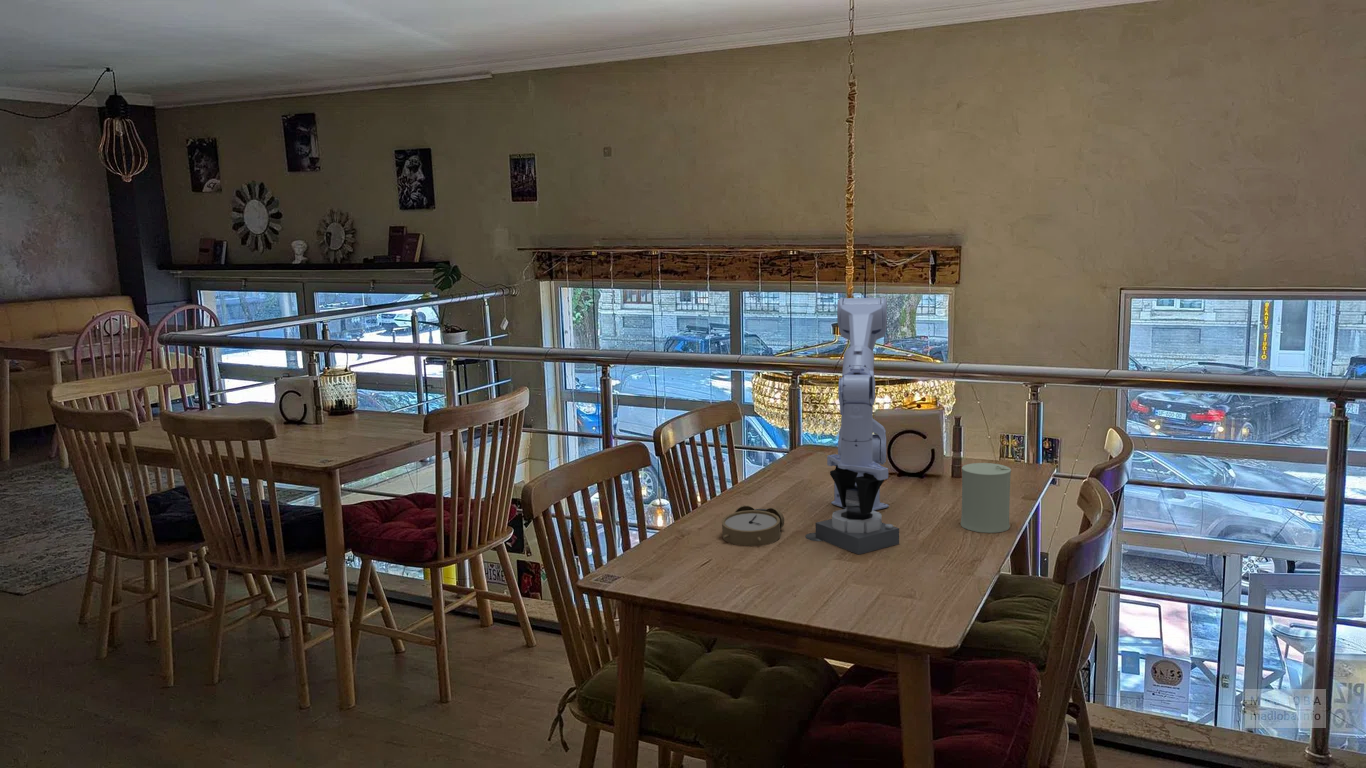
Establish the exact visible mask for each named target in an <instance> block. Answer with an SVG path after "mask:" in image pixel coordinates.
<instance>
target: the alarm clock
mask: <svg viewBox="0 0 1366 768" xmlns="http://www.w3.org/2000/svg"><path fill="white" fill-rule="evenodd" d="M784 525H785V517H784V515H783V513H782V511H781V510H780V509H778V508H776V507H769V508H753V506H750V505H741V506H739V507H737V508H736V510H735V511H734V512H732V513H729V514H727V515H726V516H724V517H723V518H722V519H721V530H722V532H721V533H722V534H721V535H722V539H723V540H724V541H726V542H727V543H729V544H732V545H737V546H742V545H743V546H745V547H746V546H750V547H753V546H755V547H756V546H760V547H761V546H766V545H770V544H773V543H775V542H777V541H778V540H779V539H780V538H781V535H782V533H781V529H782V528H784Z"/></svg>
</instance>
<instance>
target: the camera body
mask: <svg viewBox="0 0 1366 768" xmlns="http://www.w3.org/2000/svg"><path fill="white" fill-rule="evenodd" d="M831 515H832V516H831V518H830V519H826V520H822V521H817V522H815V533H816V538H817V539H820V540H823V541H822V542H825V543H828V544H830V545H832V546H835V547H837V548H840V549H843V550H845V551H848V552H850V553H851V552H852V553H854V554H856V555H864V554H866V553H871V552H874V551H878V550H883V549H884V548H885V549H886V548H889V547H893V546H896V545H899V544H900V528H899V527H896V526H894V524H891V523H884V522H882V521H883V520H882V515H883V514H882V513H881V512H879V511H877V510H874V511H873V510H872V512H871V513H870V518H869V519H865V520H849V519H847V513H846V508H843V509H838V510H835V511H833V512H832V514H831Z"/></svg>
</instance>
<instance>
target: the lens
mask: <svg viewBox="0 0 1366 768" xmlns="http://www.w3.org/2000/svg"><path fill="white" fill-rule="evenodd" d="M845 501H846V508H845V509H846V513H847V519H849V520H865V519H869V518H870V513H867V514H862V513H861V511H860V498H859V492H858V488H857V486H849V487H847V488H846V498H845Z"/></svg>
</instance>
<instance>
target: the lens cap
mask: <svg viewBox="0 0 1366 768" xmlns="http://www.w3.org/2000/svg"><path fill="white" fill-rule="evenodd" d="M804 536H805V537H804V538H805V539H807V540H808V541H813V542H824V541H823V540H820V539H817V538H816V532H810V533H807V534H805V535H804Z"/></svg>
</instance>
